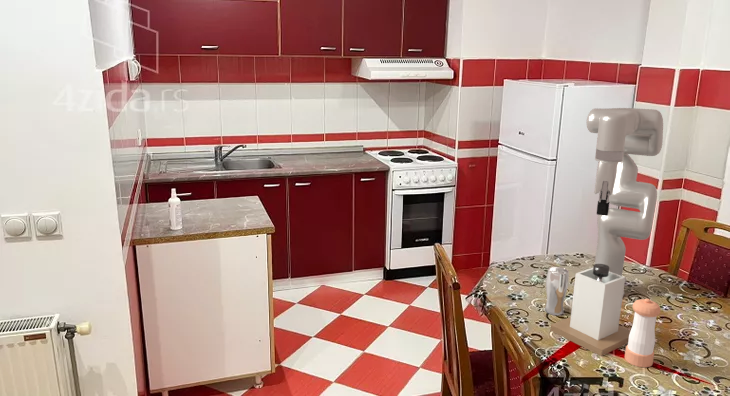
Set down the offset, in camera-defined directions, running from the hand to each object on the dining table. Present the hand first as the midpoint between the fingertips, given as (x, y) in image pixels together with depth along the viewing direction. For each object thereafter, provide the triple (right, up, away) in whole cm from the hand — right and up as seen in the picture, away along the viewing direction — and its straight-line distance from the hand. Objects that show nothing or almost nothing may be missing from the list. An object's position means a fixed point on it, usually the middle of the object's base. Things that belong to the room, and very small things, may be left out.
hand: (602, 214), depth 169 cm
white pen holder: (-1, -38, +4) cm, 38 cm away
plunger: (-1, -35, +3) cm, 35 cm away
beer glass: (-8, -34, +19) cm, 40 cm away
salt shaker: (+6, -42, -10) cm, 43 cm away
